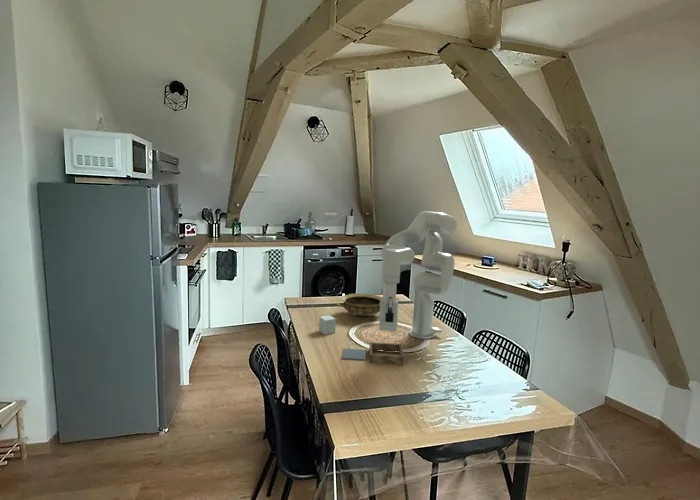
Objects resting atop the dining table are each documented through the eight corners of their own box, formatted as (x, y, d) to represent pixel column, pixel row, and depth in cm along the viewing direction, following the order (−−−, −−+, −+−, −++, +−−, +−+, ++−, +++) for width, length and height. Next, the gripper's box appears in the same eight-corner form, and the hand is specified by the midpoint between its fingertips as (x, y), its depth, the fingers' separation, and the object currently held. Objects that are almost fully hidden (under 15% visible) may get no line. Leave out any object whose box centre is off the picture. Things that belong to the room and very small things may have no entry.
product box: (329, 329, 211) (329, 315, 210) (335, 332, 206) (336, 318, 205) (318, 330, 208) (319, 316, 207) (324, 334, 203) (325, 320, 202)
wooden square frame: (400, 351, 187) (401, 344, 186) (403, 365, 173) (403, 357, 173) (369, 349, 188) (369, 342, 187) (369, 362, 174) (369, 354, 173)
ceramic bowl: (380, 308, 250) (381, 292, 248) (395, 321, 227) (396, 303, 225) (331, 310, 241) (331, 293, 239) (342, 324, 218) (342, 306, 217)
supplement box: (397, 326, 182) (399, 298, 179) (396, 332, 175) (397, 303, 172) (380, 324, 183) (382, 296, 181) (378, 330, 176) (379, 301, 174)
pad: (366, 351, 186) (366, 349, 186) (365, 360, 176) (365, 359, 176) (343, 349, 186) (343, 348, 186) (342, 359, 176) (342, 357, 176)
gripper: (381, 273, 184) (379, 311, 187) (382, 283, 166) (380, 325, 170) (398, 273, 183) (396, 312, 186) (401, 284, 166) (398, 326, 169)
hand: (388, 318), depth 178 cm, fingers closed on supplement box, 7 cm apart
